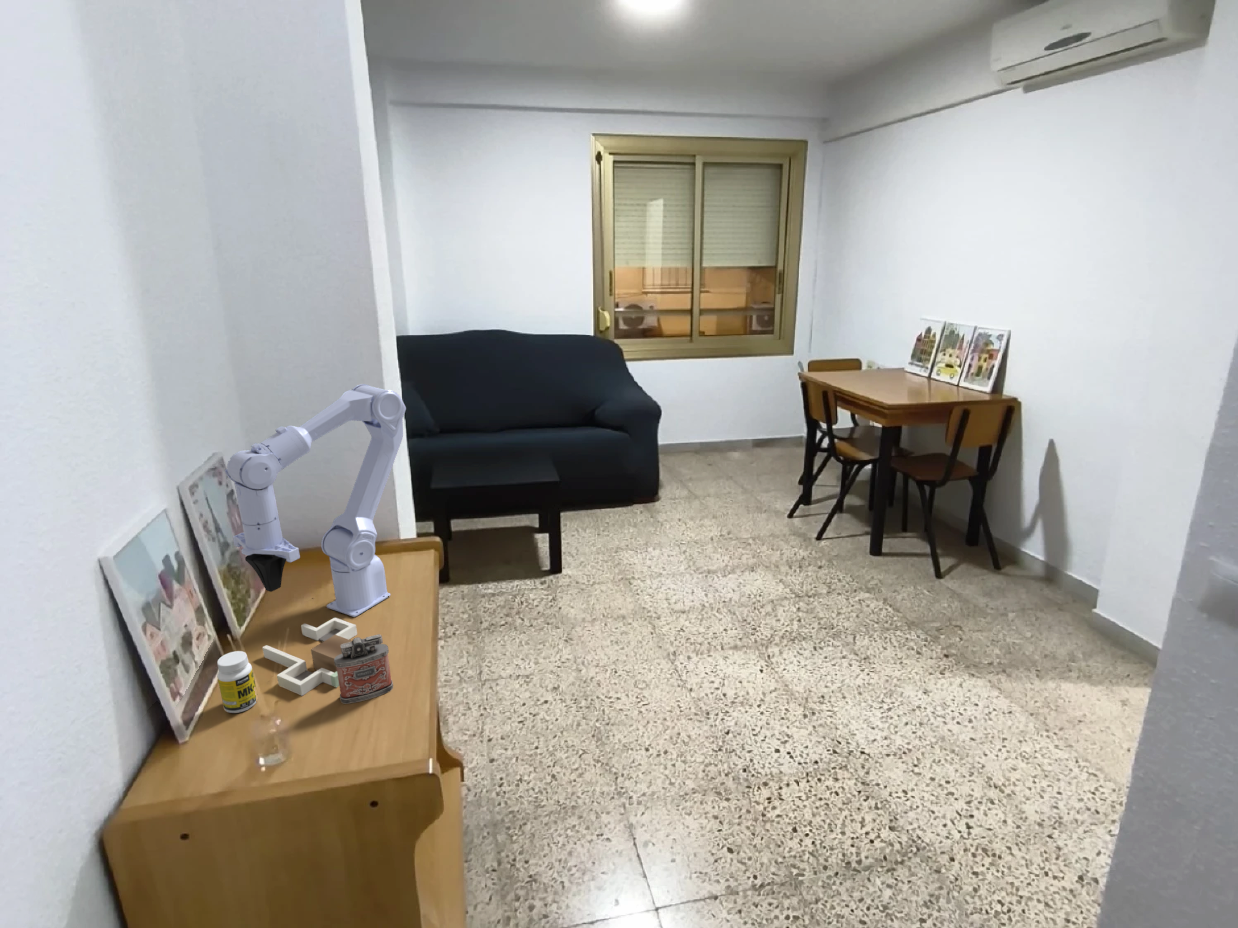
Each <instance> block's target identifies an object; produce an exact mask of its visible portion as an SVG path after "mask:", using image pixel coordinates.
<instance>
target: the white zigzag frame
mask: <svg viewBox="0 0 1238 928" xmlns="http://www.w3.org/2000/svg"><path fill="white" fill-rule="evenodd" d="M300 628H301V633H302V636H303V637H304V636H305V637H308V638H310V639H312V640H315V641H320V642H321V643H322V642H324V641H325V640H327V639H329V638H330V637H332V636H334V635H338V636H340V637H343V638H346V639H348V640H351V639H352V638H355V636H357V635H358V630H357V624H355V623H351V622H348V621H346V620H343V619H341V618H338V617H333V618H332V619H330V620H328V621H326V622H324V623H322V624H320V625H319V626H318V627H315V626H313V625H310V624H308V623H303V624H301V626H300ZM262 653H263V657H264V658H265V659H268V660H270V661H272V662H275V663H277V664H279V665H282V666H284V667H287V668H286V669H285V670H283V671H281V672H280V673H278V674H276V678H277V682H278V686H279V687H281V688H284V689H286V690H288V691H291V692H292V693H295V694H297V695H299V696H301V697H302V696H304V695H305V694H307V693H308V692H310V691H311V690H313V689H314V688H317V687H318V686H319V685H321V684H322V683H325V684H327V685H329V686H332V687H334V688H338V687H340V686H339V680H338V674H337V671H336V672H335V673H334V672H331V671H329V670H326V669H324V668H321V669H319V670H316V671H314V672H311V671H309V670H308V667H307V663H306V662H307V661H306V660H304V659H302V658H299V657H297V656H294V655H292V654H289V653H287V652H285V651H282V650H280V649H277V648H275V647H273V646H270V645H267V644H266V645H264V646H262Z"/></svg>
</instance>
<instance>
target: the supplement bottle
mask: <svg viewBox="0 0 1238 928" xmlns="http://www.w3.org/2000/svg"><path fill="white" fill-rule="evenodd" d="M217 668H218V672H217V676H216V677H217V682H218V687H219V691H220V695H221V700H222V705H223V709H224V711H225V712H227V713H229V714H238V713H242V712H245V711H248V710H249V709H251V708H252V707H254V706H255V705H256V704H257V702H256V695H255V691H254V687H256V681H255V680H256V679H255V676H254V672H253V667H252V664H251V663H250V662H249V659H248V655H247V653H246V652H245V651H242V650H237V651H230V652H228V653H225V654H224V655H222V656H221V657H219V659H217ZM256 688H257V687H256Z"/></svg>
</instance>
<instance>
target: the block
mask: <svg viewBox="0 0 1238 928" xmlns="http://www.w3.org/2000/svg"><path fill="white" fill-rule="evenodd" d="M349 642H352V640H351V639H349V640H348V639H346V638H343V637H340V636H338V635H334V636H332V637H330V638H329V639H327V640H325V641H324V642H322V641H321V643H319V644H318V645H316V646H314V647H312V648H311V649H310V653H311V659H312V663H313V669H314V670H316V671H317V670H319V669H321V668H324V669H326V670H329V671H331V672H334V673H335V672H336V671H337V668H336V666H335V663H334V659H335V657H336V656H338V655H340V654H342V652H341V645H342V644H345V643H349Z"/></svg>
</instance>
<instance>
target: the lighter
mask: <svg viewBox="0 0 1238 928" xmlns="http://www.w3.org/2000/svg"><path fill="white" fill-rule="evenodd" d="M351 641H352V642H349V643H345V644H342V645H341V652H342V654H340V655H338V656H336V657H335V659H334V663H335V666H336V668H337V674H338V680H339V686H338V687H339V692H340V693H339V699H340V702H341V703H342V704H344V705H345V704H348V705H349V704H354V703H359V702H362V701H367V700H371V699H373V698H377V697H380V696H382V695H385V694H387V693H389V692H391V691H392V690H393V689H394V683H393V680H392V675H391V669H390V659H389V647H388V644H385V643H384V642H383V641H384V640H383V636H382V635H381V634H380V633H379V634H375V635H370V636H366V637H364V638H361V637H353V639H352V640H351Z"/></svg>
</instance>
